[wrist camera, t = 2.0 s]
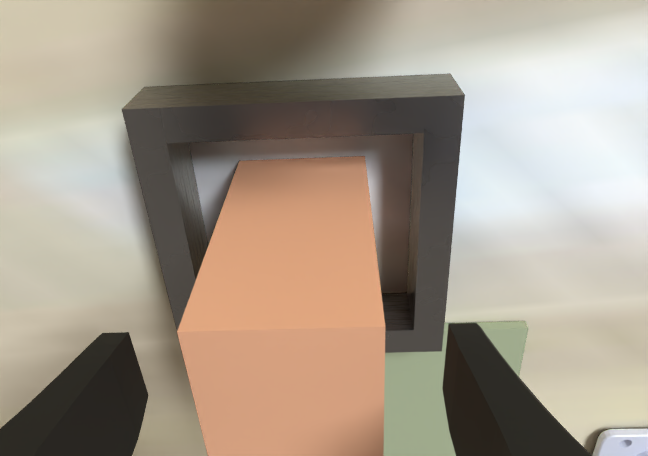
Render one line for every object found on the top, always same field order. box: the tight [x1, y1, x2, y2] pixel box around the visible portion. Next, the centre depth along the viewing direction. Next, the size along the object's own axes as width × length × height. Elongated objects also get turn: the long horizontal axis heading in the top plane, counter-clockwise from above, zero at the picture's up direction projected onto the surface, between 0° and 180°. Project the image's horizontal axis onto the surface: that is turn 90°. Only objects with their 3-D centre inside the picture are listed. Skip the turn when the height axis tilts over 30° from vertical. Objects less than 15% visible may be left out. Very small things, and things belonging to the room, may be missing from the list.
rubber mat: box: [383, 321, 528, 456], centre depth 24 cm, size 12×12×1 cm
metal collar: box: [122, 74, 465, 353], centre depth 17 cm, size 9×9×2 cm
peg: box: [177, 156, 385, 456], centre depth 15 cm, size 4×4×8 cm
